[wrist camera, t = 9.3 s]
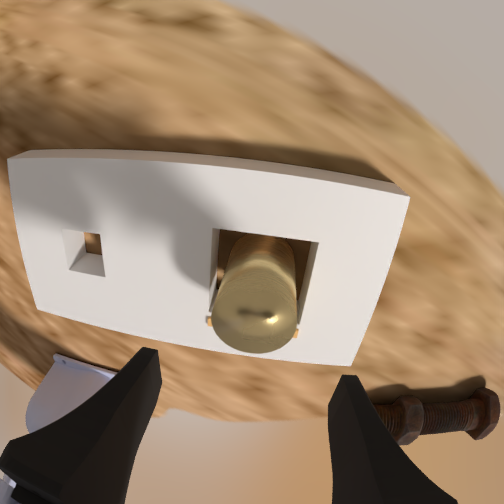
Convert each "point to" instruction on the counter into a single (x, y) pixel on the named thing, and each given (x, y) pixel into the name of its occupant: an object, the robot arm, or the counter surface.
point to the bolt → (441, 416)
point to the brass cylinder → (257, 295)
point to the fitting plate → (199, 241)
